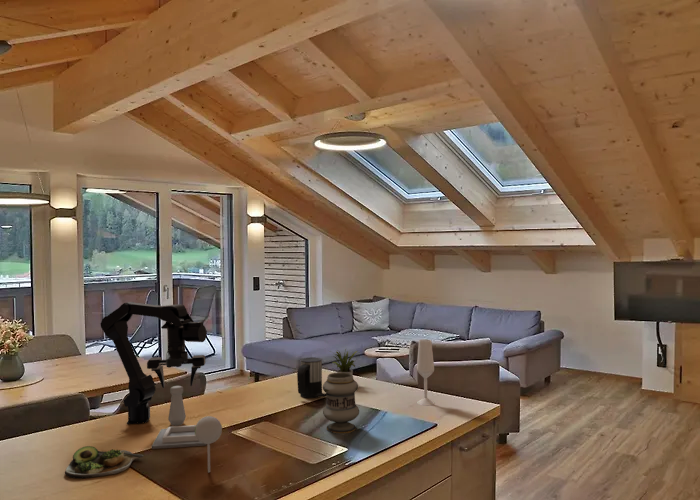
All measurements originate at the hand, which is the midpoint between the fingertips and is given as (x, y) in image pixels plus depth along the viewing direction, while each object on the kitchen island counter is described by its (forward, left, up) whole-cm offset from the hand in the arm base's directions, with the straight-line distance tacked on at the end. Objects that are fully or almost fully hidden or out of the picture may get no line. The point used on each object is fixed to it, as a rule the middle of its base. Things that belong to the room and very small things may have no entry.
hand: (177, 386), depth 193 cm
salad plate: (-16, -34, -14) cm, 40 cm away
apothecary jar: (+55, -15, -13) cm, 58 cm away
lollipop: (+15, -44, -13) cm, 48 cm away
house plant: (+63, +42, -13) cm, 77 cm away
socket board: (+4, -15, -13) cm, 20 cm away
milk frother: (+51, +25, -13) cm, 58 cm away
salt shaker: (0, 0, -13) cm, 13 cm away
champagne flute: (+91, +9, -13) cm, 92 cm away
